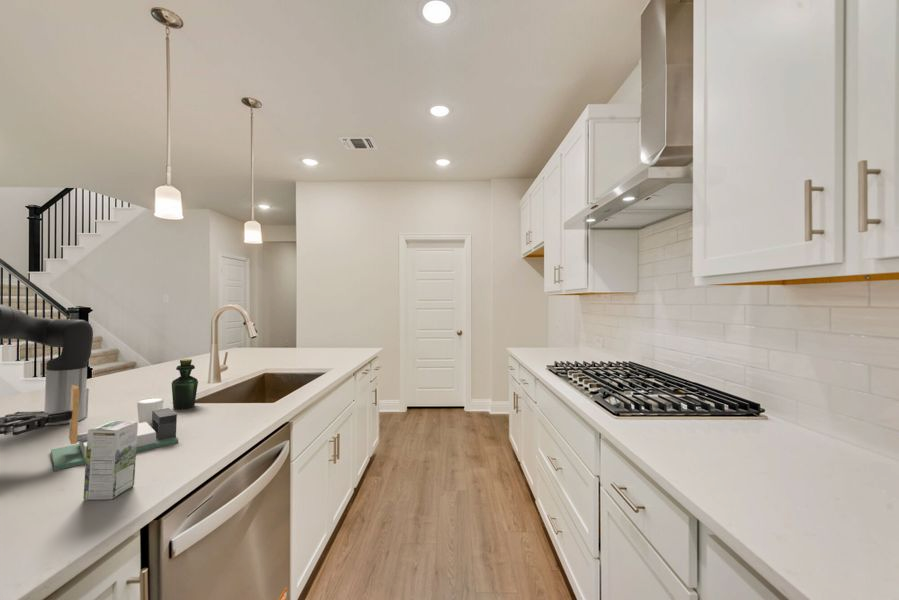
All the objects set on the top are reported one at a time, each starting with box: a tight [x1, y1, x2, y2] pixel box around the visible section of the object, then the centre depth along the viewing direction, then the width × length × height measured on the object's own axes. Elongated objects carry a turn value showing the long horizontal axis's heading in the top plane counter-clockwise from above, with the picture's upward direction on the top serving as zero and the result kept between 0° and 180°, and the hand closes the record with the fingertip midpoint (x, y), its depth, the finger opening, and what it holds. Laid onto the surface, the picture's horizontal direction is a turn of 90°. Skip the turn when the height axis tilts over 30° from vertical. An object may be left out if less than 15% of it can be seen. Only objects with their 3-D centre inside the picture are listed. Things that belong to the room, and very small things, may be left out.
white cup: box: [136, 397, 165, 425], centre depth 120 cm, size 7×7×7 cm
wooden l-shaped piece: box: [68, 385, 88, 445], centre depth 96 cm, size 12×6×14 cm, turn 140°
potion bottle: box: [171, 358, 199, 410], centre depth 136 cm, size 8×8×18 cm
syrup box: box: [83, 420, 139, 501], centre depth 76 cm, size 6×6×14 cm
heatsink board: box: [50, 407, 179, 471], centre depth 98 cm, size 24×14×8 cm, turn 140°
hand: (71, 414), depth 91 cm, fingers closed
